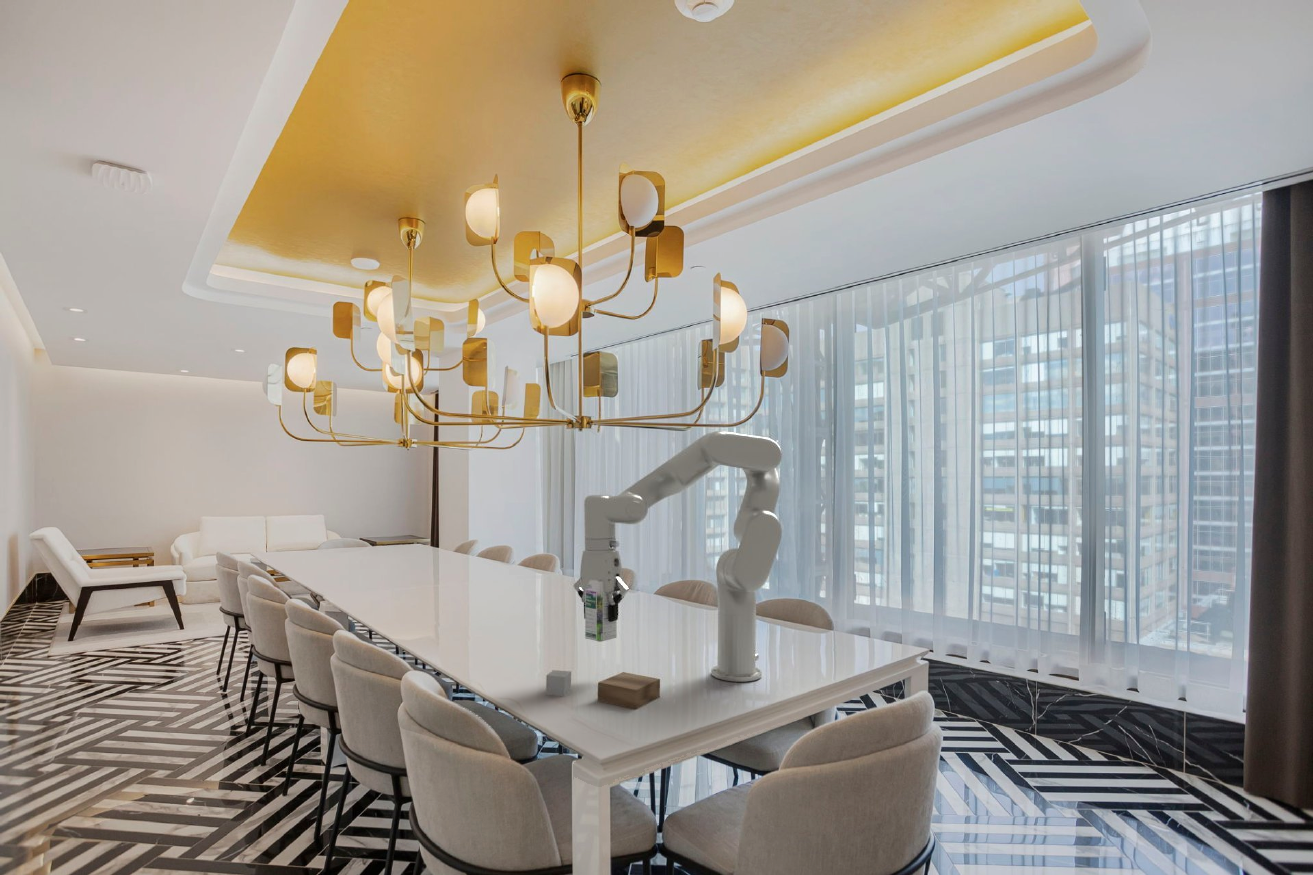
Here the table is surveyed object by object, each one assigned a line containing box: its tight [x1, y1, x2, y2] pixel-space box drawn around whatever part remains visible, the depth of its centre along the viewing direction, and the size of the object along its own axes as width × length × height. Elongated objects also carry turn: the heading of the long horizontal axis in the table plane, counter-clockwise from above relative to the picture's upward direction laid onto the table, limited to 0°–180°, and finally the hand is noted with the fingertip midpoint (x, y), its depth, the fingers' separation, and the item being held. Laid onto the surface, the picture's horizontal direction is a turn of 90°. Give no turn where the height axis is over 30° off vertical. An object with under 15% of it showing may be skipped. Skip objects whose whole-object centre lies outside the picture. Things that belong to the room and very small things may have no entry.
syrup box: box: [584, 580, 618, 643], centre depth 168 cm, size 6×6×14 cm
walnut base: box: [597, 671, 661, 710], centre depth 154 cm, size 10×10×4 cm
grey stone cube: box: [545, 669, 572, 697], centre depth 158 cm, size 4×4×4 cm
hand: (601, 618), depth 168 cm, fingers closed on syrup box, 6 cm apart
